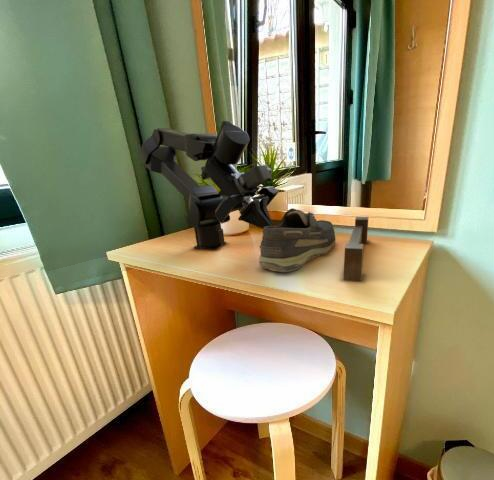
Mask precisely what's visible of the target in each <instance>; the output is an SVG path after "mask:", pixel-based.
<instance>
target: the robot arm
mask: <svg viewBox="0 0 494 480" xmlns="http://www.w3.org/2000/svg"><path fill="white" fill-rule="evenodd" d="M250 140H251V139H250V136H249V134H248V132H247V131H245V130H244V129H242V128H241V127H240V126H237V125H236V124H233V122H232V120H222V122H221V125H220V128H219V131H218V134H217V133H188V132H184V131H183V132H182V131H180V130H176V129H173V128H171V127H169V128H166V127H164V128H162V127H157V128H154V129H153V131H152V134H151V135H150V136H149V137H148V138H146V140H144V141H143V143H142V144H141V148H140V151H139V158H140V161H141V163H142V164H143V165H144V167H145V168H146V169H148V170H150V171H151V172H153V173H157V174H161V176H163V177H164V178H165V179H166V180H167V181H168V182H169V183H170V184H171V185H172V186H173V187H174V188H175V189H176V190H177V191H178V192H179V193H180V194H181V195H182V196H183V197H184V198H185V199H186V200H187V201H188V212H187V215H186V223H187V225H188V226H189V227H192V228H193V230H194V235H195V240H196V241H195V242H196V245H195V246H193V249H194V250H205V251H216V250H218V249H220V248H222V247H223V246H225V245H226V244H227V242H226V241H225V236H224V228H222V224H226V223H228V222H230V221H231V216H230V214H231V213H233V212H236V211H238V213H239V216H238V217H237V220H238V221H240V222H241V221H242V222H245V223H247V224H250V225H253V226H255V227H258V228H260V229H261V230H263V228H264V227H266V226H275V224H274V222H273V220H272V218H271V217H272V216H271V215H270V212H269V210H268V206H269V205H270V203H271V202H272V201H273V200H274V199H275V197H276V196H277V195H278V194H279V191H278V190H277V188H276V187H275V186H273V185H272V186H271V185H269V186H264V187H263V186H262V187H260V186H261V185H263V184H265V183H266V182H269V181H271V180H272V179H273V178H272V172H273V170H272V168H270V167H269V165H268V164H266V163H259V165H256V166H253V167H252V168H250V169H249V170H247V171H245V172H240V171H238V169H236V168H235V166H234V165H238V164H239V163H240V160H241V158H242V157H243V155H244V153H245V151H246V148H247V147H248V145H249V143H250ZM177 150H179V151H182V152H184V153H185V156H186V157H187V158H188V159H189V158H190V159H191V160H192V161H194V162H205V161H206V162H205V164H204V166H201V167H200V169H201V174H200V176H201V179H202V181H204V180H207V179H210V180H211V181H212V182H213V183H214V184H215V185H216V186H217V188H218V189H219V191H218V190H217V189H216V188H215V187H214V186H212V185H205V186H201V185H200V184H199V183H198V182H197V181H196V180H195V179H194V178H193V177H192V176H191V175H190V174H188V173H187V172H186V171H185V170H184V169H183V168H182V167H181V166H180V165H179V164H178V163H177V162H176V161H175V160H176V156H177V154H178V152H177Z"/></svg>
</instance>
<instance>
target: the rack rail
mask: <svg viewBox="0 0 494 480" xmlns="http://www.w3.org/2000/svg"><path fill="white" fill-rule="evenodd" d="M368 230H369V216H356V217H355V219H354V227H353V230H352V233H351V234H350V235H351V236H350V238H349V241H348V242H347V243H346V244H345V246H344V260H343V261H344V262H343V281H352V282H361V281H362V275H363V259H364V246H365V245H367V244H368Z"/></svg>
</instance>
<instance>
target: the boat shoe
mask: <svg viewBox="0 0 494 480" xmlns="http://www.w3.org/2000/svg"><path fill="white" fill-rule="evenodd" d="M335 233H336V231H335V228H334V226H333V223H332V221H329V220H323V219H322V220H317V219H316V216H315V214H314V213H313V212H311V211H308V213H307V212H306V213H305V212H304V211H303V210H300V209H296V208H292V207H291V208H290V209H288V210H287V211H286V212H285V213H284V214H283V216H282V218H281V219H280V224H279V225H274V226H266V227H264V228H263V229H262V239H261V242H260V245H259V247H258V248H259V251H260V252H259V253H260V255H259V259H258V264H259V266H260V268H261V269H265V270H268V271H269V270H270V271H273V272H277V273H278V272H279V273H290V272H293V271H296V270H299V269H300V268H302V267H303V266H305V264H306V263H307V262H308V261H309V260H311V259H314V258H316V257H320V256H325V255H327V254H328V253H330V252H332V250H333V249H334V247H335V245H336V241H337V239H336V234H335Z"/></svg>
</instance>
